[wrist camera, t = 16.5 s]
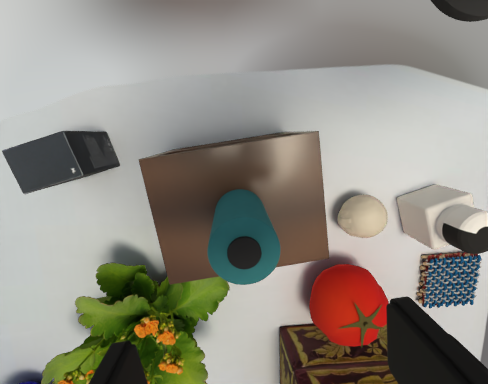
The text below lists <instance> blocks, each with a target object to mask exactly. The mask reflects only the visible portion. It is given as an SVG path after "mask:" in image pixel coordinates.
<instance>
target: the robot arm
mask: <svg viewBox="0 0 488 384" xmlns="http://www.w3.org/2000/svg"><path fill="white" fill-rule="evenodd" d="M386 313H387V361H388V366H389V369H390V371H391V373H392V375H393V377H394V378H395V380H396V381H397V383H398V384H488V369H487V368H486V367H485V366H484V365H483V364H482V363H481V362H480V361H479V360H478V359H477V358H476V357H474V356H473V355H472V354H471V353H470V352H469V351H468V350H467V349H466V348H465V347H464V346H463V345H462V344H461V343H460V342H459V341H457V340H456V339H455V338H454V337H453V336H451V335H450V334H448V333H446V332H445V331H444V330H443V329H442V328H441V327H440V326H439V325H438V324H437V323H436V322H435V321H434V320H433V319H432V318H431V317H430V316H429V315H428V314H427V313H426V312H424V311H423V310H422V309H421V308H420V307H419V306H418V305H417V304H416V303H415V302H414V301H413V300H412V299H411V298H409V297H401V298H395V299H391V300H390V304H387V306H386ZM89 384H148V383H147V380H146V377H145V373H144V370H143V367H142V364H141V360H140V357H139V354H138V351H137V347H136V345H135V344H132V343H131V342H130V341H122V342H116V343H112V344H111V346H110V347H109V349H108V350H107V352H106V354H105V356H104V357H103V359H102V361H101V363H100V364H99V366H98V368H97V370H96V371H95V373H94V375H93V377H92V378H91V380H90V382H89Z"/></svg>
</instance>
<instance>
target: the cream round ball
mask: <svg viewBox="0 0 488 384" xmlns="http://www.w3.org/2000/svg"><path fill="white" fill-rule="evenodd" d="M338 223H339V225H340V226H341V228H342V229H343V230H344V231H345V232H346V233H347V234H349V235H351V236H356V237H360V238H368V237H373V236H375V235H377V234H379V233H380V232H381V231H382V230H383V229H384V228H385V226H386V224H387V211H386V209H385V207H384V205H383V204H382V203H381V202H380V201H379V200H378V199H377V198H375V197H373V196H370V195H357V196H354V197H352V198H350V199H348V200H347V201H346V202H345V203H344V204H343V206H342V208H341V210H340V212H339V214H338Z"/></svg>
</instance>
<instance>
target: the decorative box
mask: <svg viewBox="0 0 488 384" xmlns="http://www.w3.org/2000/svg"><path fill="white" fill-rule="evenodd" d="M383 328H384V329H383ZM383 328H381V329H379V332H378V335H377V339H375V340H374V341H373V342H371V343H370V344H368V345H363V346H362V348H361V346H355V347H353V346H342V345H338V344H336V343H333V342H331V341H330V340H329V339H328V337H327V336H326V335H325V334H324V333H323V332H322V331H321V330H320V329H319V328H318V327H317V326H316V325H315V324H312V325H299V326H286V327H280V384H398V383H397V381H396V380H395V378H394V377H393V375H392V373H391V371H390V369H389V366H388V361H387V324H386V325H385V326H384V327H383Z"/></svg>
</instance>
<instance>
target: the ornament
mask: <svg viewBox="0 0 488 384" xmlns="http://www.w3.org/2000/svg"><path fill="white" fill-rule="evenodd" d="M19 384H40V383H37V382H32V381H28V382H22V383H19Z"/></svg>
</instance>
